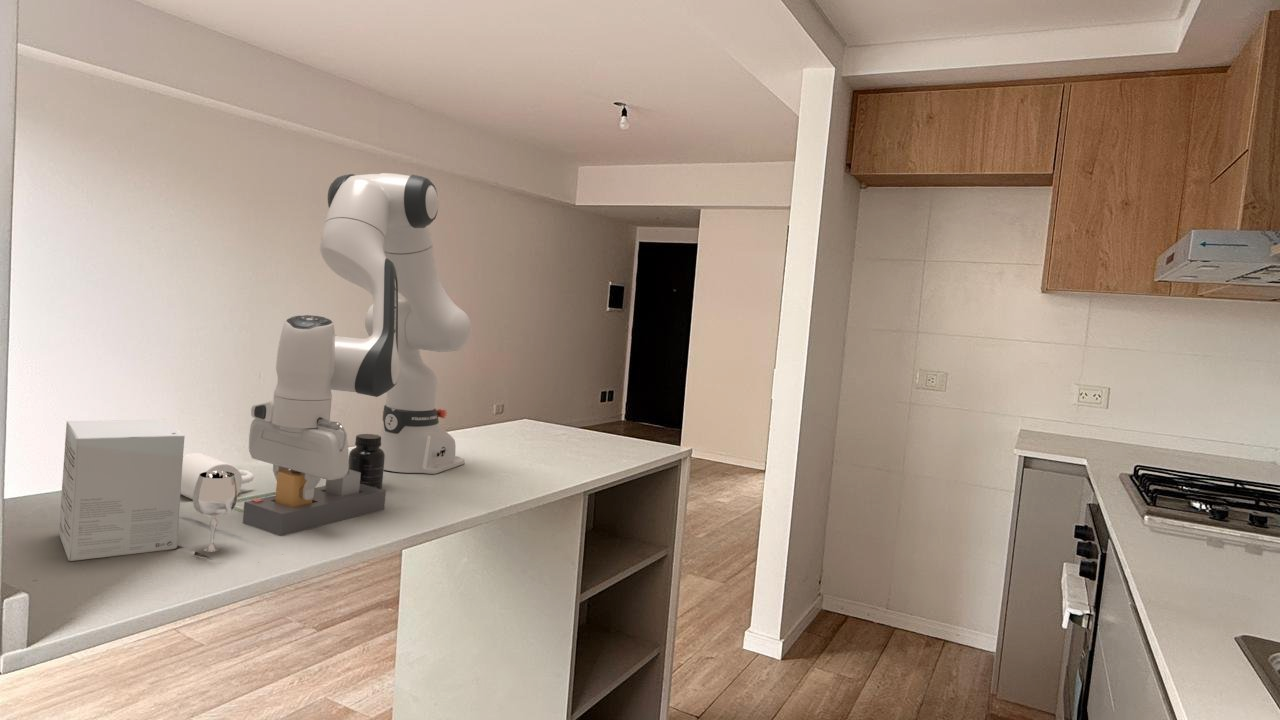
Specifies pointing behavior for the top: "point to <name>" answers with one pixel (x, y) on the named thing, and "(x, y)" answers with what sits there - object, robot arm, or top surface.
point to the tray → (252, 498)
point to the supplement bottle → (368, 460)
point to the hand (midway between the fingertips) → (294, 495)
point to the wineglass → (214, 499)
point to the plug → (290, 488)
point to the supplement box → (120, 488)
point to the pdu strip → (311, 510)
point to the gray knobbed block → (344, 484)
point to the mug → (205, 463)
